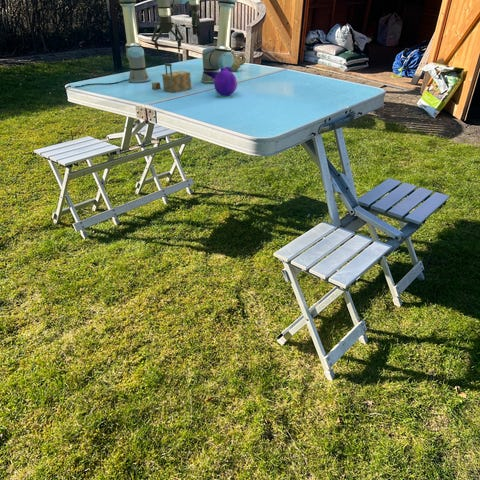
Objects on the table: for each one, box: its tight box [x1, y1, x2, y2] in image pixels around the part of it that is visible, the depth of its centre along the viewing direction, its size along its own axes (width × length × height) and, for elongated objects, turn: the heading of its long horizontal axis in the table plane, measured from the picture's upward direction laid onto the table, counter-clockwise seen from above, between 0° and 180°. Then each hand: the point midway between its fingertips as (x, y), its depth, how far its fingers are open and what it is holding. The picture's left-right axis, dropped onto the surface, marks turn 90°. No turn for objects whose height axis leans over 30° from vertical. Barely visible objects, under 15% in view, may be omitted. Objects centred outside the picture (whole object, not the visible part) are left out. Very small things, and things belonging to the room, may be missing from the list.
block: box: [151, 81, 162, 91], centre depth 314 cm, size 4×4×4 cm
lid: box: [161, 62, 191, 78], centre depth 304 cm, size 17×10×8 cm, turn 136°
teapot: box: [230, 51, 246, 72], centre depth 364 cm, size 21×12×15 cm, turn 120°
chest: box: [162, 73, 192, 93], centre depth 308 cm, size 16×10×10 cm, turn 136°
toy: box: [202, 67, 238, 97], centre depth 293 cm, size 16×18×27 cm
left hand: (196, 35), depth 349 cm, fingers open, 13 cm apart
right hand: (168, 52), depth 288 cm, fingers open, 13 cm apart
